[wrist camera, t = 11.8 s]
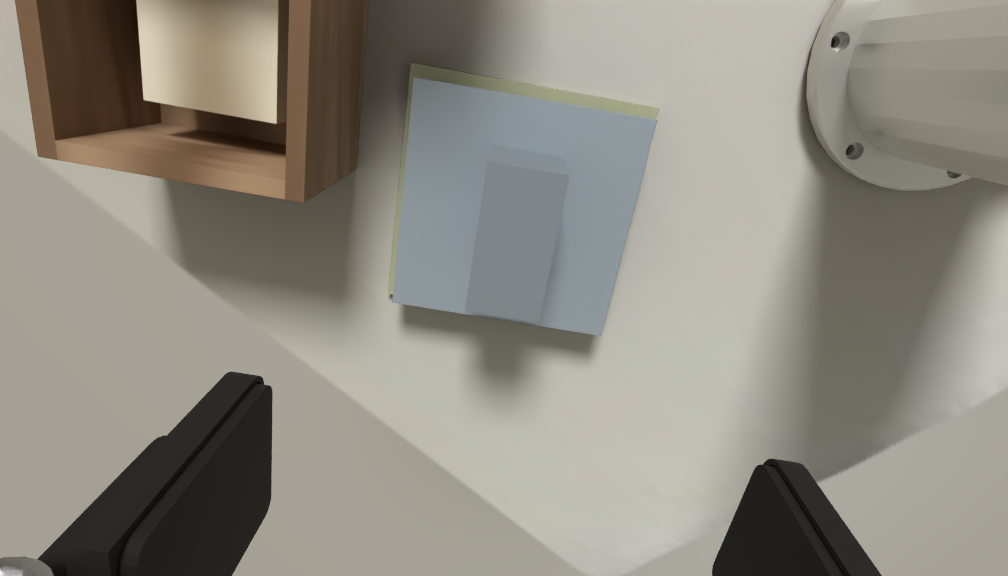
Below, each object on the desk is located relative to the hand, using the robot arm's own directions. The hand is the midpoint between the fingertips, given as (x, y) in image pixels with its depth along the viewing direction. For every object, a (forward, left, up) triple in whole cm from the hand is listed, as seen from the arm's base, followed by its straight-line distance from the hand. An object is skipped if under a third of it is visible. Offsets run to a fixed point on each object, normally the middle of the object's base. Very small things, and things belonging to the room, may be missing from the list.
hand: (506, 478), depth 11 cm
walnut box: (+15, -6, -22) cm, 27 cm away
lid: (0, 0, -22) cm, 22 cm away
